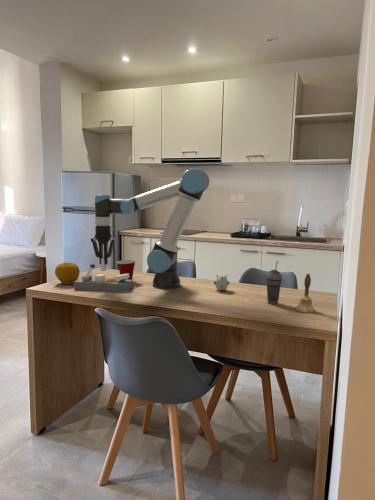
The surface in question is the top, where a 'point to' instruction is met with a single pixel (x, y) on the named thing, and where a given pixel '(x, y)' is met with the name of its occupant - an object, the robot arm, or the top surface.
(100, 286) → the grey tray
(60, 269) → the apple
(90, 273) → the lever
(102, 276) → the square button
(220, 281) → the grey spiky ball
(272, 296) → the beverage cup
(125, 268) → the plastic cup
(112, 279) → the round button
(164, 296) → the top surface
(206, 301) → the top surface
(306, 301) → the hand bell
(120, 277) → the rocker
